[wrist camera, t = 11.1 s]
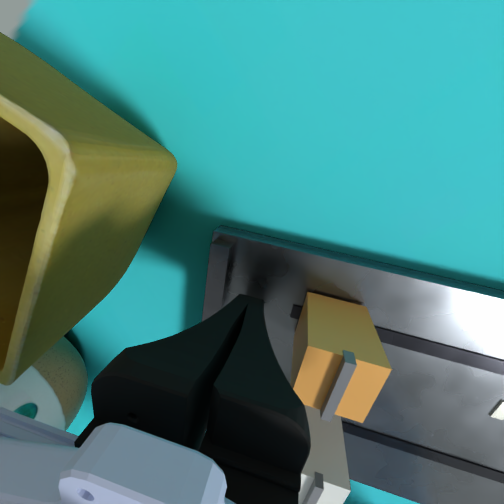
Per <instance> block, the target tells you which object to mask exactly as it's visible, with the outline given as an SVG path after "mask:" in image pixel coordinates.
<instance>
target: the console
mask: <svg viewBox="0 0 504 504" xmlns="http://www.w3.org/2000/svg"><path fill="white" fill-rule="evenodd" d="M307 292H311V293H315V294H319V295H323V296H326V297H330V298H334V299H338V300H342V301H346V302H350V303H354V304H358V305H362V306H365V307H367V309H368V312H369V314H370V317H371V319H372V322H373V324H374V327H375V329H376V332H377V334H378V336H379V339H380V341H381V344H382V346H383V349H384V351H385V354H386V356H387V359H388V361H389V364H390V366H391V368H392V370H391V372H390V374H389V376H388V378H387V379H386V381H385V383H384V385H383V387H382V389H381V391H380V392H379V394H378V396H377V398H376V400H375V402H374V403H373V405H372V407H371V409H370V411H369V413H368V414H367V416H366V418H365V420H364V422H363V423H360V422H357V421H354V420H351V419H348V418H345V417H341V421H342V429H343V436H344V444H345V451H346V458H347V466H348V473H349V479H351V480H354V481H357V482H360V483H363V484H365V485H368V486H371V487H374V488H377V489H380V490H383V491H386V492H389V493H391V494H394V495H397V496H400V497H403V498H406V499H409V500H412V501H414V502H417V503H420V504H504V291H502V290H497V289H493V288H489V287H484V286H480V285H476V284H471V283H467V282H463V281H459V280H454V279H450V278H446V277H441V276H437V275H433V274H428V273H424V272H420V271H416V270H411V269H407V268H403V267H398V266H394V265H390V264H385V263H381V262H377V261H373V260H368V259H364V258H360V257H355V256H351V255H347V254H342V253H338V252H334V251H330V250H325V249H321V248H317V247H312V246H308V245H304V244H299V243H295V242H291V241H287V240H282V239H278V238H274V237H269V236H265V235H261V234H256V233H252V232H248V231H244V230H239V229H235V228H231V227H226V226H222V225H220V226H219V227H218V228H216V229H215V230H214V231H213V238H212V243H211V245H210V253H209V262H208V271H207V280H206V289H205V298H204V306H203V315H202V321H204V320H206V319H207V318H209V317H210V316H212V315H213V314H215V313H216V312H218V311H219V310H220V309H222V308H223V307H224V306H226V305H227V304H228V303H229V302H231V301H232V300H233V299H234V298H235V297H236V296H237V295H239V294H244V295H248V296H251V297H255V298H259V299H263V300H264V302H265V303H264V316H265V323H266V328H267V332H268V336H269V339H270V343H271V346H272V348H273V351H274V354H275V356H276V358H277V361H278V363H279V365H280V367H281V369H282V371H283V373H284V375H285V376H286V378H287V380H288V382H289V383H290V384H291V370H292V356H293V342H294V334H295V331H296V328H297V324H298V321H299V318H300V315H301V311H302V308H303V305H304V301H305V298H306V295H307Z"/></svg>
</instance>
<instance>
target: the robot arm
mask: <svg viewBox="0 0 504 504" xmlns="http://www.w3.org/2000/svg"><path fill="white" fill-rule="evenodd" d="M264 303H265V302H264V300H263V299H259V298H255V297H251V296H248V295H244V294H239V295H237V296H236V297H235V298H234V299H233V300H232V301H231V302H229V303H228V304H227V305H226V306H224V307H223V308H222V309H220V310H219V311H218V312H216V313H215V314H213V315H212V316H210V317H209V318H207V319H206V320H204V321H202V322H201V323H199V324H197V325H195V326H193V327H191V328H189V329H187V330H185V331H182V332H180V333H178V334H175V335H173V336H170V337H167V338H164V339H161V340H157V341H154V342H150V343H146V344H142V345H138V346H133V347H128V348H125V349H124V350H123V351H122V352H121V353H120V354H119V355H117V356H116V357H115V358H114V359H113V360H112V361H111V362H110V363H109V364H108V365H107V366H106V367H105V368H104V369H103V371H102V372H101V373H100V374H99V375H98V376H97V377H96V378H95V379H94V381H93V383H92V387H91V395H92V403H93V411H94V418H93V420H92V421H91V422H90V423H89V424H88V426H87V427H86V428H85V429H84V431H83V432H82V433H81V434H80V435H79V436H77V435H74V434H71V433H69V432H66V431H64V430H61V429H58V428H56V427H53V426H50V425H48V424H45V423H42V422H40V421H37V420H34V419H32V418H29V417H26V416H24V415H21V414H18V413H16V412H13V411H10V410H8V409H5V408H2V407H0V504H298V498H299V492H300V489H301V472H302V470H303V468H304V465H305V463H306V461H307V459H308V456H309V454H310V449H311V439H310V430H309V424H308V418H307V414H306V409H305V405H304V404H303V402H302V401H301V400H300V398H299V397H298V395H297V394H296V393H295V391H294V390H293V388H292V387H291V385H290V383H289V382H288V380H287V378H286V376H285V375H284V373H283V371H282V369H281V367H280V365H279V363H278V361H277V358H276V356H275V354H274V351H273V348H272V346H271V343H270V339H269V336H268V332H267V328H266V323H265V316H264ZM205 432H206V433H205Z"/></svg>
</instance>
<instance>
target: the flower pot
mask: <svg viewBox="0 0 504 504" xmlns="http://www.w3.org/2000/svg"><path fill="white" fill-rule="evenodd" d="M176 169H177V161H176V159H175V157H174V155H173V154H172V153H171V152H169V151H168V150H167V149H166V148H164V147H163V146H161V145H160V144H158V143H157V142H156V141H154V140H153V139H151V138H150V137H148V136H147V135H145V134H144V133H143V132H141V131H140V130H138V129H137V128H136V127H134V126H133V125H131V124H130V123H128V122H127V121H126V120H124V119H123V118H121V117H120V116H119V115H117V114H116V113H114V112H113V111H112V110H110V109H109V108H107V107H106V106H105V105H103V104H102V103H100V102H99V101H98V100H96V99H95V98H94V97H92V96H91V95H89V94H88V93H87V92H85V91H84V90H83V89H81V88H80V87H79V86H77V85H76V84H74V83H73V82H72V81H70V80H69V79H68V78H67V77H65V76H64V75H63V74H61V73H60V72H59V71H57V70H56V69H55V68H53V67H52V66H51V65H49V64H48V63H46V62H45V61H44V60H42V59H41V58H39V57H38V56H36V55H35V54H33V53H32V52H31V51H29V50H28V49H26V48H25V47H23V46H22V45H20V44H18V43H17V42H15V41H14V40H12V39H10V38H9V37H7V36H6V35H4V34H2V33H1V32H0V383H1V384H3V385H5V386H8V385H11V384H12V383H13V382H15V381H16V380H17V379H18V378H19V377H20V376H21V375H22V374H23V373H24V372H25V371H26V370H27V369H28V368H29V367H30V366H32V365H33V364H34V363H35V362H36V361H37V360H38V359H39V358H40V357H41V356H42V355H43V354H44V353H46V352H47V351H48V350H49V349H50V348H51V347H52V346H53V345H54V344H55V343H56V342H58V341H59V340H60V339H61V338H62V337H63V336H64V335H65V334H66V333H67V332H68V331H69V330H71V329H72V328H73V327H74V326H75V325H76V324H77V323H78V322H79V321H80V320H81V319H82V318H83V317H84V316H86V315H87V314H88V313H89V312H90V311H91V310H92V309H93V308H94V307H95V306H96V305H97V304H98V303H99V302H101V301H102V300H103V299H104V298H105V297H106V296H107V294H108V293H109V292H110V291H111V290H112V289H113V288H114V287H115V285H116V284H117V283H118V282H119V280H120V279H121V278H122V276H123V275H124V273H125V272H126V270H127V269H128V267H129V265H130V264H131V262H132V260H133V258H134V257H135V255H136V253H137V251H138V249H139V246H140V244H141V242H142V240H143V238H144V236H145V234H146V232H147V230H148V227H149V225H150V223H151V221H152V219H153V217H154V215H155V213H156V211H157V209H158V207H159V205H160V203H161V200H162V198H163V196H164V194H165V192H166V190H167V188H168V186H169V184H170V182H171V180H172V178H173V177H174V174H175V172H176Z"/></svg>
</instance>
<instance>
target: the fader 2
mask: <svg viewBox="0 0 504 504" xmlns="http://www.w3.org/2000/svg"><path fill="white" fill-rule="evenodd" d="M305 409H306V414H307V418H308V424H309V430H310V439H311V449H310V454H309V456H308V459H307V461H306V463H305V465H304V468H303V470H302V472H301V489H300V492H299V498H298V504H343V503H344V501H345V500H346V498H347V496H348V495H349V493H350V491H351V488H350V481H349V473H348V466H347V458H346V451H345V444H344V436H343V429H342V421H341V416H338V415H335V414H334V416H333V418H332V420H331V422H328V421H325V420H322V419H321V417H320V410H319V409H316V408H313V407H310V406H307V405H305Z"/></svg>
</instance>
